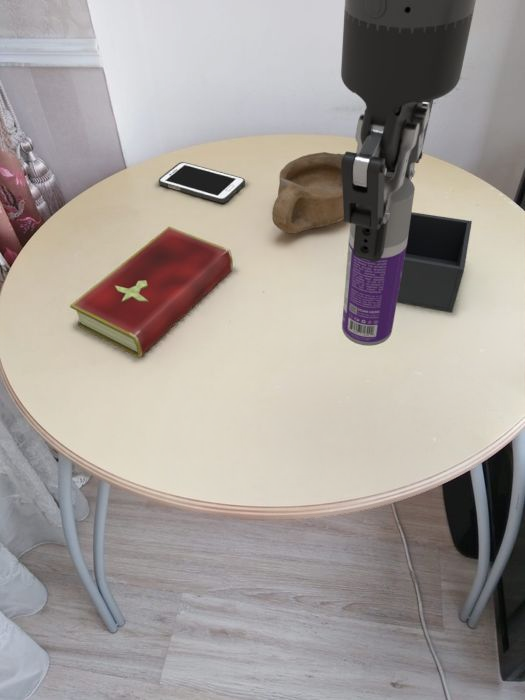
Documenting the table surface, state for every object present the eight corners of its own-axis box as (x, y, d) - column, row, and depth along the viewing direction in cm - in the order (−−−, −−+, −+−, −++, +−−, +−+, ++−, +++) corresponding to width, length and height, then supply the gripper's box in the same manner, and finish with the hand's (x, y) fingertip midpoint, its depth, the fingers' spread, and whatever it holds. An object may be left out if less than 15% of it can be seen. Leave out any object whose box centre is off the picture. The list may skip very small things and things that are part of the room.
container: (402, 334, 52) (429, 191, 41) (360, 353, 51) (377, 211, 40) (372, 304, 55) (390, 164, 44) (332, 322, 54) (340, 181, 43)
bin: (460, 263, 85) (471, 220, 79) (452, 312, 78) (464, 269, 72) (386, 251, 88) (392, 209, 82) (371, 297, 80) (377, 254, 75)
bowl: (344, 254, 85) (330, 195, 79) (264, 255, 92) (245, 201, 86) (378, 193, 96) (368, 137, 89) (304, 198, 103) (290, 146, 96)
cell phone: (224, 204, 98) (223, 200, 97) (157, 185, 103) (156, 180, 102) (247, 183, 102) (246, 178, 102) (181, 165, 108) (180, 160, 107)
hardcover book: (233, 271, 86) (231, 248, 83) (142, 359, 74) (135, 336, 71) (173, 246, 91) (168, 224, 87) (77, 326, 79) (69, 303, 76)
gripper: (441, 50, 28) (396, 306, 40) (498, -29, 36) (446, 202, 49) (301, 33, 30) (300, 279, 43) (385, -37, 39) (364, 185, 51)
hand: (378, 237), depth 46 cm, fingers closed on container, 4 cm apart
